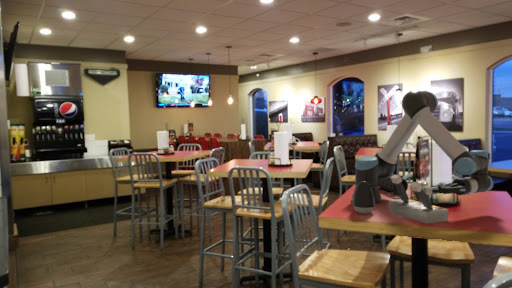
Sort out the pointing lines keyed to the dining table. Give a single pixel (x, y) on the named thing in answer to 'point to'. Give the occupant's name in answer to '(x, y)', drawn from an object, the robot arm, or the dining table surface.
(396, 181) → the lever
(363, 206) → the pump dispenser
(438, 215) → the switch panel
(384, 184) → the muzzle brake
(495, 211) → the dining table surface
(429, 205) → the lever
